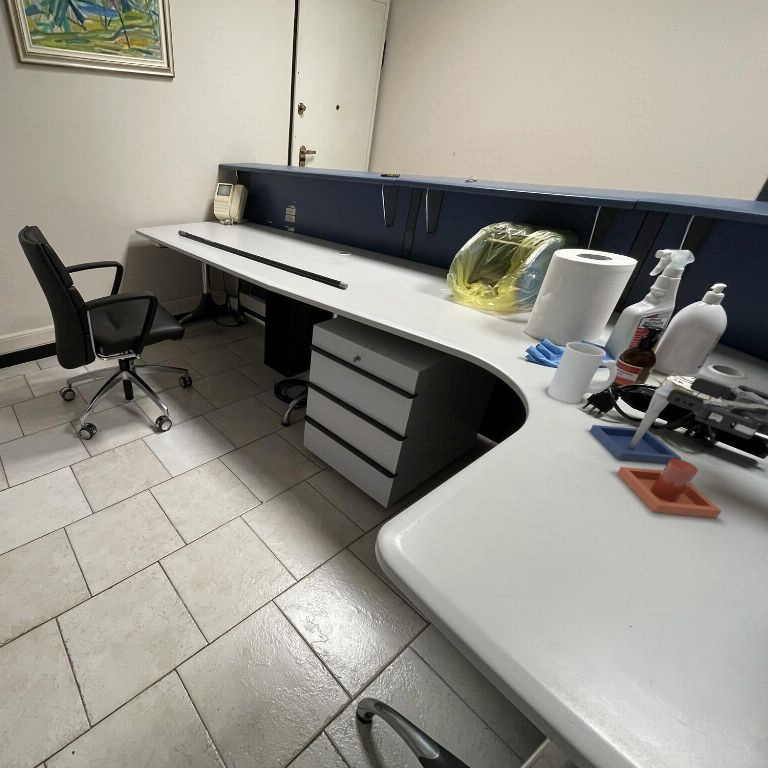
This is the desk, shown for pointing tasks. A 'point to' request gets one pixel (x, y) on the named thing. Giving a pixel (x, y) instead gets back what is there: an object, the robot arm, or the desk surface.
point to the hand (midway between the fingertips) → (681, 388)
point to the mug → (579, 372)
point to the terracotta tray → (686, 504)
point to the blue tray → (645, 450)
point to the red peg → (673, 480)
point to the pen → (652, 411)
